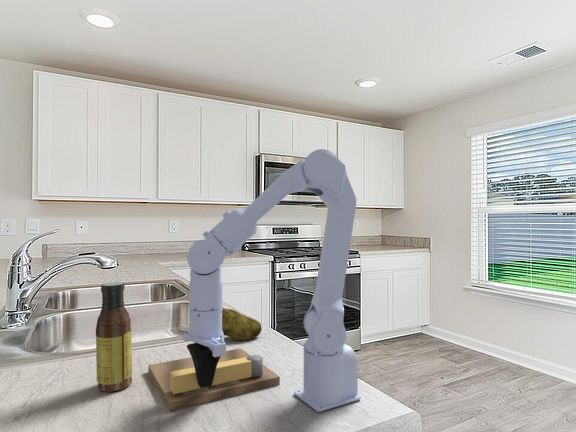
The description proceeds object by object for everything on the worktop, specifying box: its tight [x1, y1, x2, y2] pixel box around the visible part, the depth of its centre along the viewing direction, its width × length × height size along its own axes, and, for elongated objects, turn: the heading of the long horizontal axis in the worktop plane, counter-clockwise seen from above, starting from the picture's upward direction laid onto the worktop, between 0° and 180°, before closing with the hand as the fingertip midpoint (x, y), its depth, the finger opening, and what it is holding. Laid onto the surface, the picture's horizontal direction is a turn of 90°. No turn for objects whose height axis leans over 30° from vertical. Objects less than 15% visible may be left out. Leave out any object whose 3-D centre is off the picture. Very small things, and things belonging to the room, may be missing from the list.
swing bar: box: [170, 354, 264, 394], centre depth 71 cm, size 18×3×3 cm, turn 121°
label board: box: [147, 348, 281, 412], centre depth 76 cm, size 21×19×2 cm
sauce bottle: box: [95, 281, 133, 393], centre depth 72 cm, size 7×6×20 cm
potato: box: [222, 308, 262, 341], centre depth 102 cm, size 8×13×8 cm, turn 82°
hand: (205, 385), depth 66 cm, fingers closed
